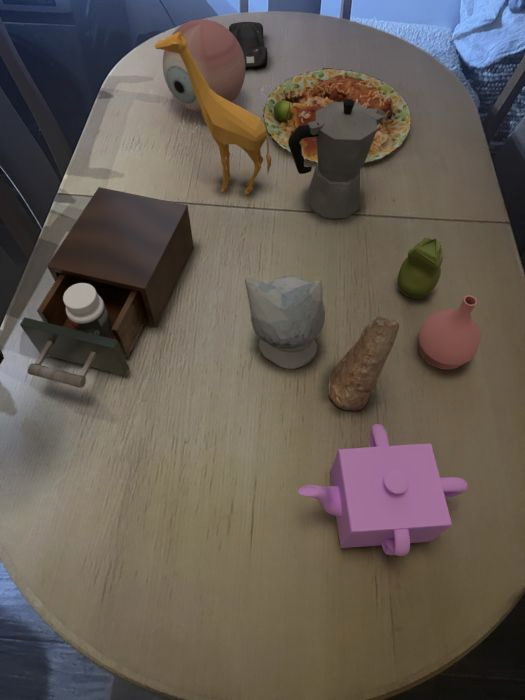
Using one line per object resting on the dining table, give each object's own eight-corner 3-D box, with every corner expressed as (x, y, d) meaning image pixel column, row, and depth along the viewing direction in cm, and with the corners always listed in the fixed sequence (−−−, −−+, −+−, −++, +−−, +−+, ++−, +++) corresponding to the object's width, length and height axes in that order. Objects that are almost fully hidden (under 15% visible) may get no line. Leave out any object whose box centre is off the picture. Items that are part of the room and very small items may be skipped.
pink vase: (401, 339, 72) (425, 285, 62) (448, 323, 74) (479, 268, 63) (430, 385, 68) (460, 335, 58) (479, 367, 70) (517, 316, 60)
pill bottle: (74, 345, 69) (52, 308, 62) (86, 316, 71) (67, 277, 64) (108, 350, 68) (90, 313, 61) (119, 322, 71) (104, 283, 64)
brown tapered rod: (341, 420, 66) (379, 400, 68) (387, 365, 50) (435, 341, 52) (316, 380, 68) (353, 361, 70) (352, 314, 52) (399, 292, 54)
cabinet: (156, 327, 73) (145, 288, 66) (67, 306, 75) (46, 266, 67) (194, 247, 81) (187, 205, 74) (113, 230, 83) (98, 186, 75)
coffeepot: (356, 174, 90) (376, 73, 75) (381, 210, 86) (407, 110, 70) (274, 195, 88) (277, 94, 72) (295, 233, 83) (303, 134, 68)
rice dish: (368, 195, 89) (375, 169, 84) (234, 135, 96) (234, 109, 91) (429, 112, 102) (438, 85, 97) (307, 64, 108) (310, 37, 103)
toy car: (232, 71, 107) (231, 50, 103) (228, 33, 115) (227, 12, 111) (268, 70, 107) (268, 48, 104) (261, 32, 115) (261, 11, 111)
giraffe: (173, 188, 88) (146, 35, 67) (181, 171, 91) (157, 18, 69) (268, 201, 87) (270, 49, 65) (272, 184, 89) (277, 31, 68)
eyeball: (153, 114, 99) (138, 32, 86) (196, 76, 106) (188, -6, 93) (220, 139, 95) (214, 57, 82) (260, 97, 102) (260, 16, 89)
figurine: (328, 328, 73) (343, 256, 60) (307, 380, 69) (318, 314, 56) (264, 307, 75) (265, 233, 62) (239, 356, 71) (235, 287, 58)
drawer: (110, 408, 65) (96, 382, 59) (21, 384, 67) (-2, 357, 61) (166, 291, 75) (158, 259, 69) (87, 273, 77) (73, 240, 71)
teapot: (299, 573, 56) (306, 555, 47) (287, 451, 63) (291, 417, 55) (461, 561, 57) (497, 541, 48) (431, 442, 64) (457, 407, 56)
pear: (437, 287, 77) (459, 240, 69) (421, 311, 75) (442, 265, 66) (403, 271, 79) (420, 223, 70) (387, 293, 76) (403, 246, 68)
